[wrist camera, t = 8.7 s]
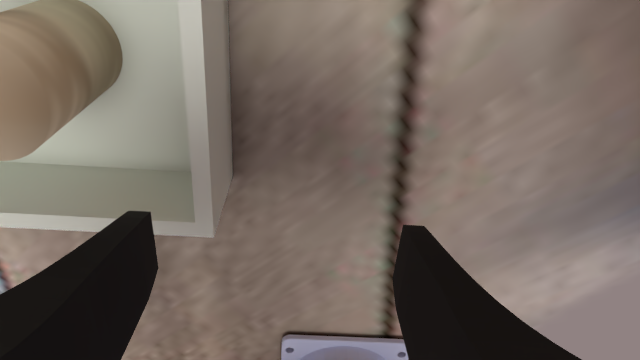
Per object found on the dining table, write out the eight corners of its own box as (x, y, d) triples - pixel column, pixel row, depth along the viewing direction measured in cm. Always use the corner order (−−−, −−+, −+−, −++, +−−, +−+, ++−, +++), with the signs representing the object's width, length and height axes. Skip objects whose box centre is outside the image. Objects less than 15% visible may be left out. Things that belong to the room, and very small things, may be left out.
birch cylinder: (128, 99, 20) (61, 165, 15) (32, 91, 20) (-70, 156, 14) (115, 1, 18) (33, 37, 13) (9, -9, 18) (-120, 24, 12)
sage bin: (232, 176, 23) (213, 237, 19) (-24, 162, 22) (-106, 221, 18) (224, -120, 17) (193, -132, 12) (-130, -150, 16) (-293, -174, 12)
